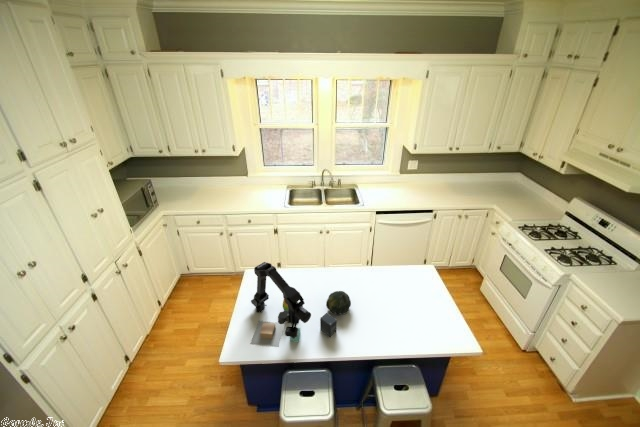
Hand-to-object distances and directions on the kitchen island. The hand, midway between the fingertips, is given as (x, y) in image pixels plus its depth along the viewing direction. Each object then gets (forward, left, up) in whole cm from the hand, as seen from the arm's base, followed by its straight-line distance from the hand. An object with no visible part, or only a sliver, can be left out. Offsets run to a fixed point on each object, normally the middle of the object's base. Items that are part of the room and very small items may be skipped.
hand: (294, 331), depth 164 cm
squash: (-24, +23, -6) cm, 34 cm away
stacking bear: (-18, -6, -6) cm, 20 cm away
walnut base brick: (-1, -16, -5) cm, 17 cm away
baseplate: (-1, -16, -6) cm, 17 cm away
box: (-7, +18, -6) cm, 20 cm away
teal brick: (0, 0, -6) cm, 6 cm away
